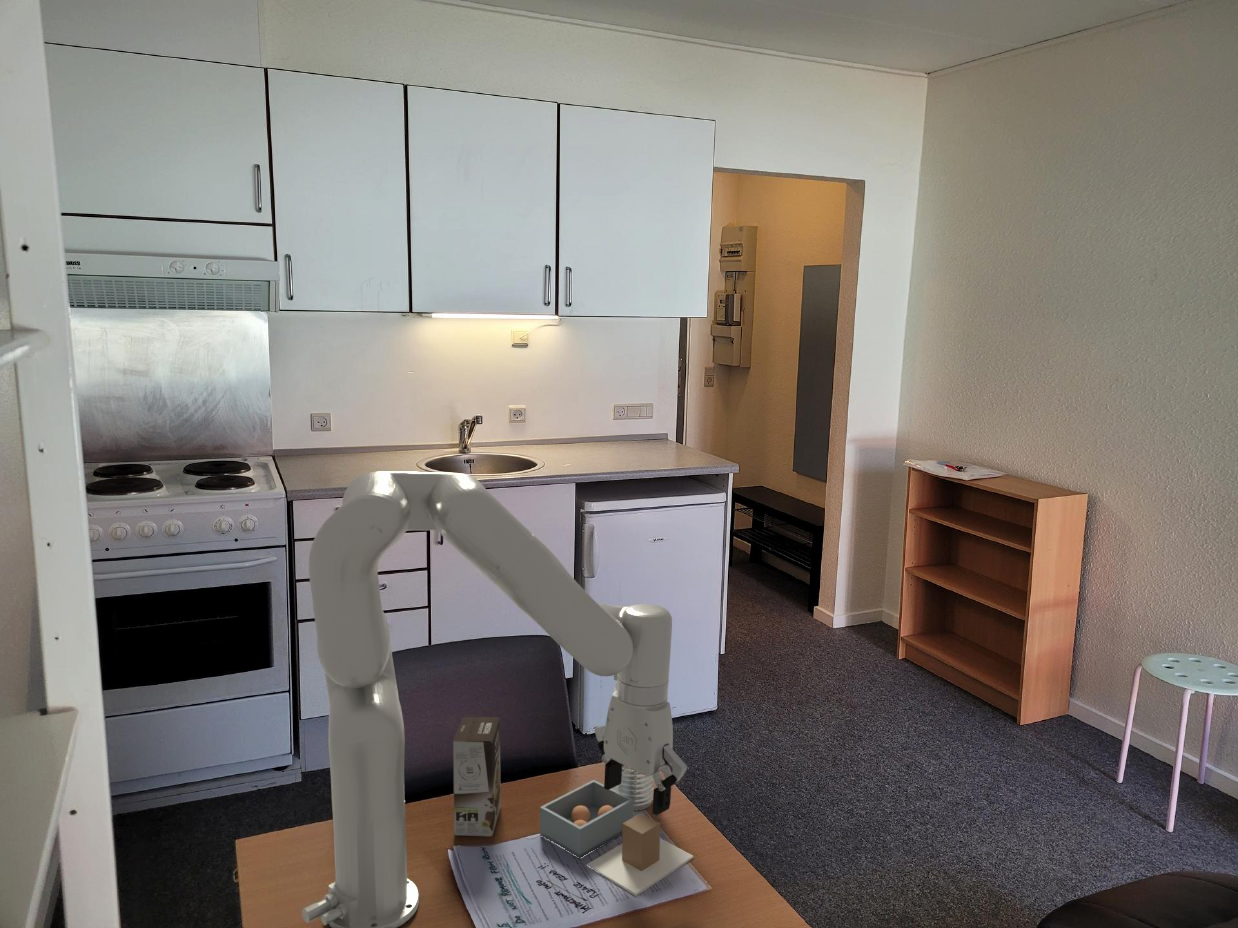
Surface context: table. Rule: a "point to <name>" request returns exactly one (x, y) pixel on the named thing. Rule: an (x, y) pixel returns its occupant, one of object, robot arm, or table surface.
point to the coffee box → (476, 776)
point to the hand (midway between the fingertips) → (636, 798)
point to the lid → (640, 856)
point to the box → (597, 829)
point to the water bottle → (636, 785)
